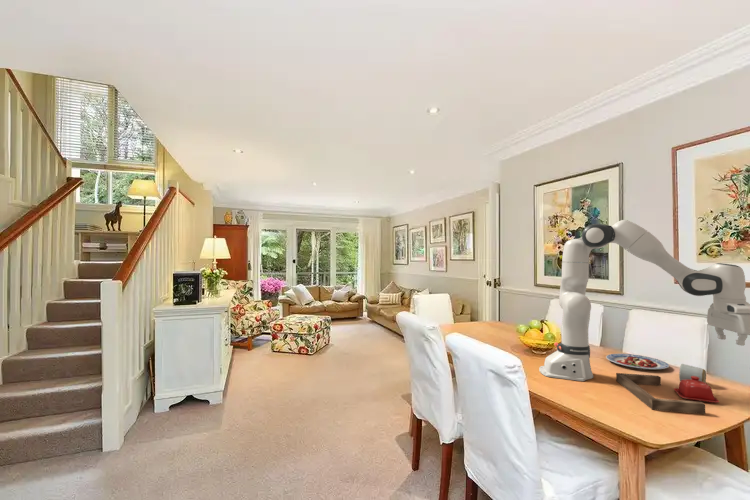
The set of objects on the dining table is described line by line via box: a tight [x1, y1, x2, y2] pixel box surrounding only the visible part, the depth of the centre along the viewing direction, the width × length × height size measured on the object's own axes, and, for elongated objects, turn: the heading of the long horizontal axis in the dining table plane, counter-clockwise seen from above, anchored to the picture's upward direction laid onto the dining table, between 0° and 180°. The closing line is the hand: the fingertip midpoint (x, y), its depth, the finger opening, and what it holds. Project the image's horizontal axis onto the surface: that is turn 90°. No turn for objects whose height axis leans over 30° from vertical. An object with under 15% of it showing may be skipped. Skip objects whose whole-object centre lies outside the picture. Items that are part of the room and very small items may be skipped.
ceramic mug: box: [678, 363, 707, 384], centre depth 151 cm, size 11×8×8 cm
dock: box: [615, 372, 706, 415], centre depth 137 cm, size 16×30×4 cm, turn 166°
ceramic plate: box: [605, 353, 670, 371], centre depth 177 cm, size 26×26×3 cm
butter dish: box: [673, 376, 720, 404], centre depth 136 cm, size 12×12×8 cm
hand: (730, 342), depth 132 cm, fingers open, 8 cm apart
